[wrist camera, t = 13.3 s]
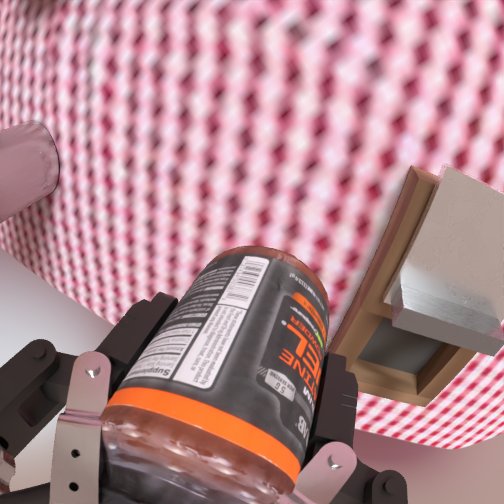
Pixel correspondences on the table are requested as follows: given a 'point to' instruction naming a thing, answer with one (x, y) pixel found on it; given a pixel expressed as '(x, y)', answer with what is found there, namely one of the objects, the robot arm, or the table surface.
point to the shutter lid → (454, 267)
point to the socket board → (380, 319)
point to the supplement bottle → (222, 388)
